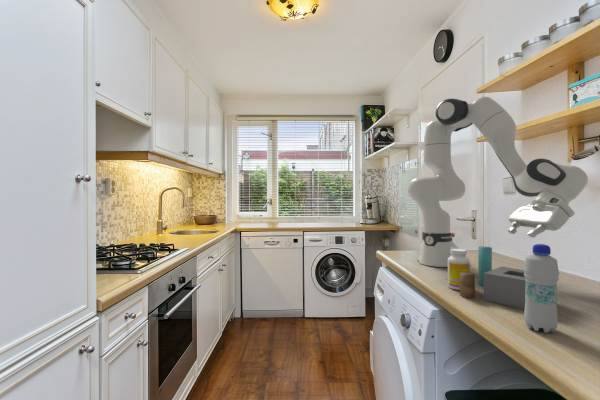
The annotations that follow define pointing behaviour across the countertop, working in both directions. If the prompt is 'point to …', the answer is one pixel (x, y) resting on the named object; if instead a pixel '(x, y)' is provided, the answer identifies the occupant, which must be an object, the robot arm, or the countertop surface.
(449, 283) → the supplement bottle
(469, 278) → the short pin
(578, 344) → the countertop surface
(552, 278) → the bottle
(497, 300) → the hole block
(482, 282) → the long pin
